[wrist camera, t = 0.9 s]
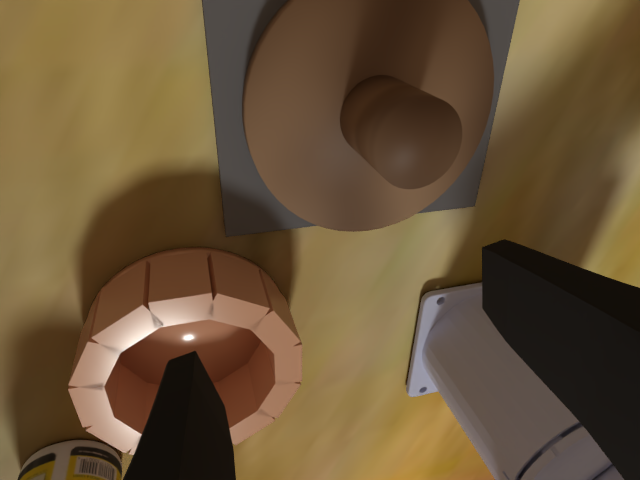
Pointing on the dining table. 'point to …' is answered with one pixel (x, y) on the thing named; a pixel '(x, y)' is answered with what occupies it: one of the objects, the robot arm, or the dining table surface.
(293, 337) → the bowl
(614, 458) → the robot arm
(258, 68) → the lid
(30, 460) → the supplement bottle
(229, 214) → the mat
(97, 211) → the dining table surface
